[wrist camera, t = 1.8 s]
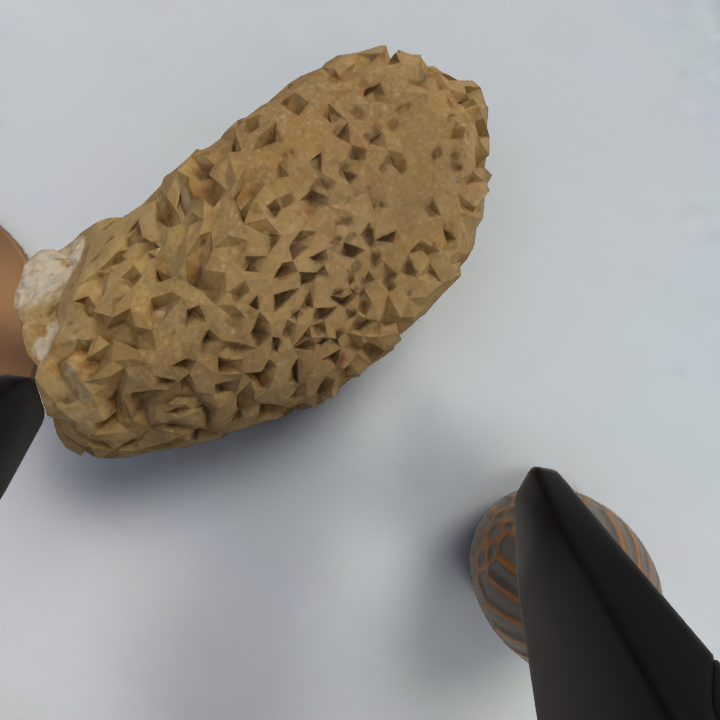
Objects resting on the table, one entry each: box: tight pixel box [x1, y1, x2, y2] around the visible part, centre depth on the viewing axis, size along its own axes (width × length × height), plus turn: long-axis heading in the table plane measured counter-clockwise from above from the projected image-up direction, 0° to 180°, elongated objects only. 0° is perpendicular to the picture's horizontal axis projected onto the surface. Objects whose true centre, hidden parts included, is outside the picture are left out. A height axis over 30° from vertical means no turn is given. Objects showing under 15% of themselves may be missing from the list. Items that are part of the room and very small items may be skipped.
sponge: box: [14, 46, 492, 459], centre depth 20 cm, size 13×8×20 cm
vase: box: [470, 490, 663, 663], centre depth 20 cm, size 7×7×9 cm
